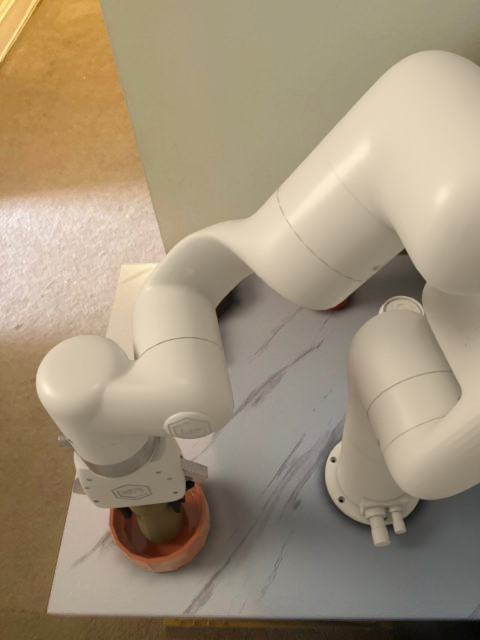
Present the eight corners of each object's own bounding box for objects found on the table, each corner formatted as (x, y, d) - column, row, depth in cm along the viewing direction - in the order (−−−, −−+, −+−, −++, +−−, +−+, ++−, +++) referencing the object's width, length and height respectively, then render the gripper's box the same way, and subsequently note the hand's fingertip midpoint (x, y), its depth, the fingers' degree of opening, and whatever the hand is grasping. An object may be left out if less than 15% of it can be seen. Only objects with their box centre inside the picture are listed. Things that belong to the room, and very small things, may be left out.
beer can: (406, 356, 86) (425, 294, 75) (409, 391, 83) (429, 331, 71) (366, 355, 87) (378, 292, 75) (368, 389, 84) (380, 329, 72)
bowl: (212, 567, 70) (208, 556, 66) (116, 578, 70) (106, 567, 66) (207, 475, 77) (203, 460, 73) (121, 484, 77) (112, 470, 73)
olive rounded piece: (161, 486, 75) (144, 451, 66) (195, 514, 72) (182, 481, 63) (129, 522, 72) (106, 491, 63) (162, 553, 69) (144, 525, 61)
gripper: (20, 484, 51) (80, 543, 65) (208, 463, 51) (226, 527, 65) (32, 410, 55) (85, 481, 70) (204, 391, 55) (222, 466, 70)
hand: (153, 502), depth 67 cm, fingers closed on olive rounded piece, 5 cm apart
